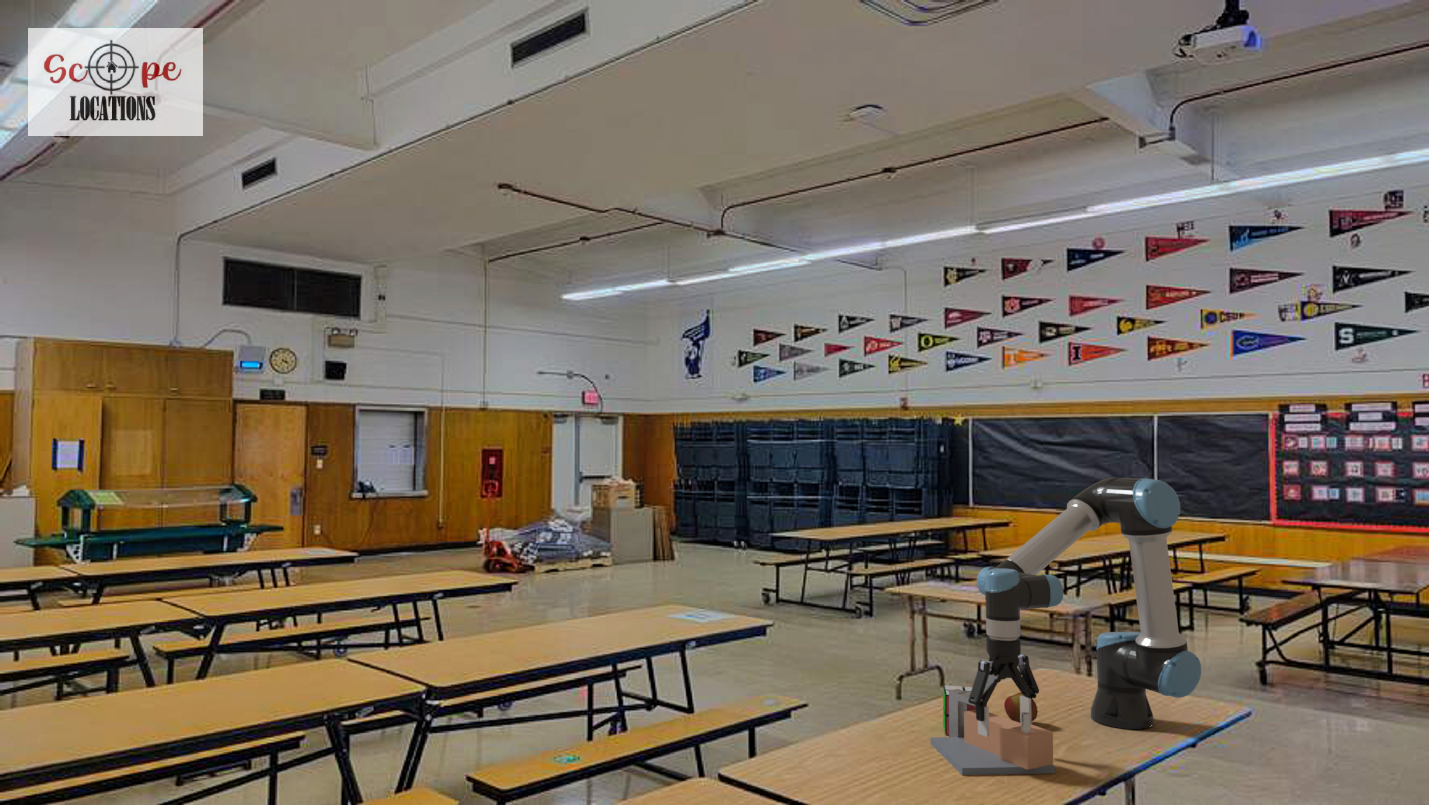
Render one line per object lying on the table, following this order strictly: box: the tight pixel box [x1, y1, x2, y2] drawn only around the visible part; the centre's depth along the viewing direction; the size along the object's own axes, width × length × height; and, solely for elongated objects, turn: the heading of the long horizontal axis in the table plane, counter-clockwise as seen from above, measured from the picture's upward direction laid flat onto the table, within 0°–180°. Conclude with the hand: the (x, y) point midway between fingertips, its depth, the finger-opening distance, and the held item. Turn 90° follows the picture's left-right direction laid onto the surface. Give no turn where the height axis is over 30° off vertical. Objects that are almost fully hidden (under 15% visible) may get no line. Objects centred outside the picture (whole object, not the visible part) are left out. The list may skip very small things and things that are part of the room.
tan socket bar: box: [964, 710, 1054, 770], centre depth 206 cm, size 20×8×7 cm, turn 29°
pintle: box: [1021, 712, 1031, 734], centre depth 201 cm, size 2×2×12 cm
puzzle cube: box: [942, 684, 988, 737], centre depth 227 cm, size 10×10×10 cm
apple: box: [1004, 691, 1038, 723], centre depth 234 cm, size 8×8×8 cm
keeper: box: [948, 689, 982, 737], centre depth 217 cm, size 4×9×12 cm, turn 29°
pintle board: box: [930, 736, 1056, 776], centre depth 207 cm, size 21×21×2 cm
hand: (1005, 730), depth 207 cm, fingers open, 13 cm apart
